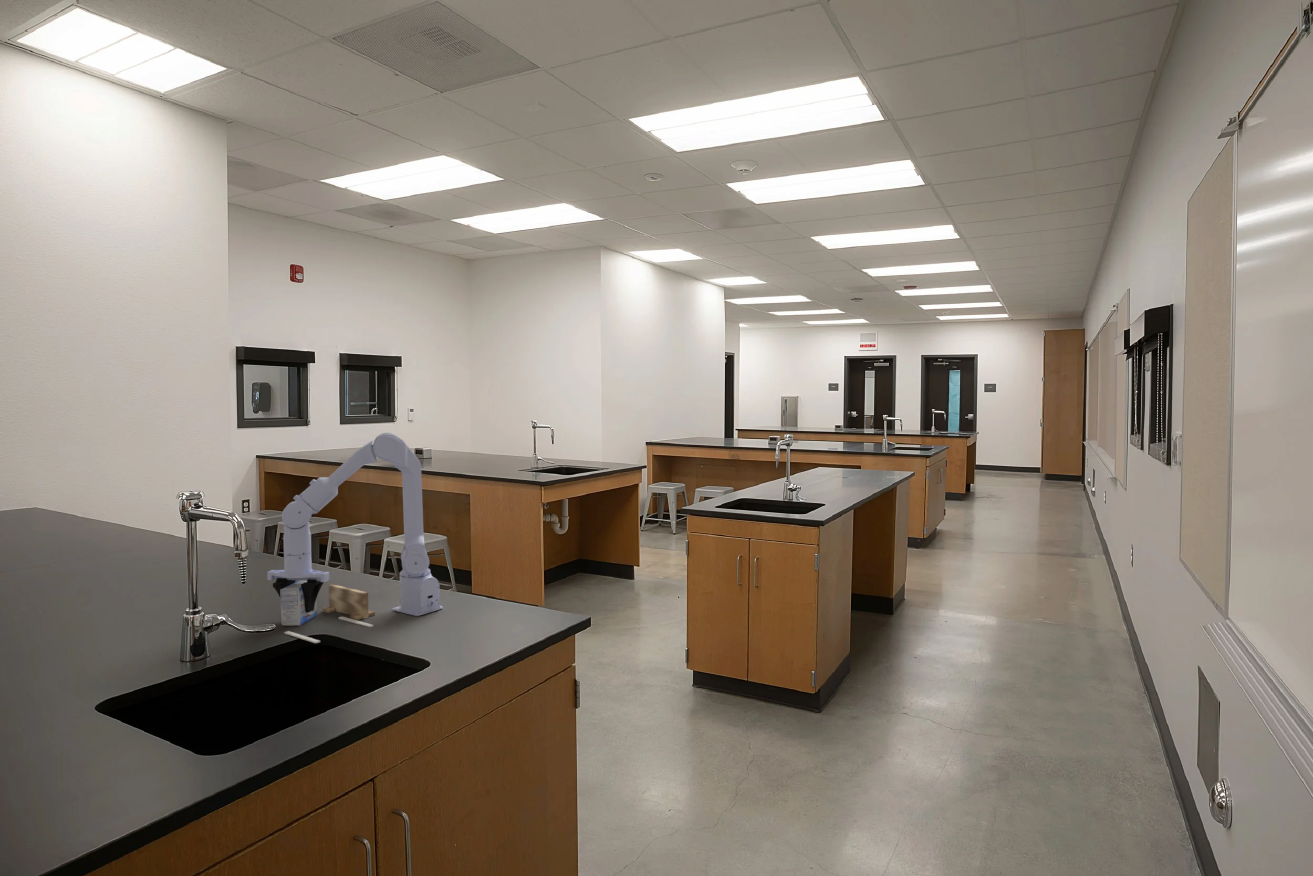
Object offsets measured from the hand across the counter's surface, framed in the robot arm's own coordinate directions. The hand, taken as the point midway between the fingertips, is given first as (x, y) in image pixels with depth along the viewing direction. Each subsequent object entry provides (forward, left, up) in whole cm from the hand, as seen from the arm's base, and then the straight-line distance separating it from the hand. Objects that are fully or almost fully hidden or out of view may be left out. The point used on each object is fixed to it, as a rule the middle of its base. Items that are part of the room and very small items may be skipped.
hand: (299, 610), depth 169 cm
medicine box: (0, 0, -3) cm, 3 cm away
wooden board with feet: (-4, -10, -2) cm, 11 cm away
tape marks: (-12, 0, -2) cm, 12 cm away
